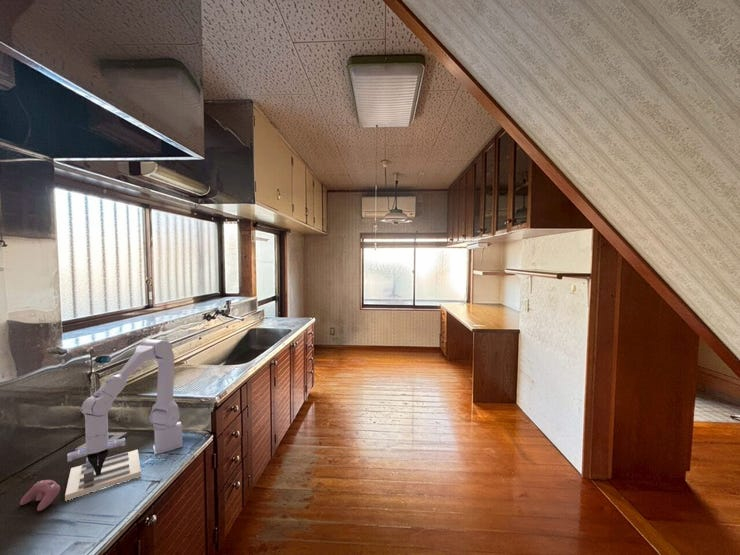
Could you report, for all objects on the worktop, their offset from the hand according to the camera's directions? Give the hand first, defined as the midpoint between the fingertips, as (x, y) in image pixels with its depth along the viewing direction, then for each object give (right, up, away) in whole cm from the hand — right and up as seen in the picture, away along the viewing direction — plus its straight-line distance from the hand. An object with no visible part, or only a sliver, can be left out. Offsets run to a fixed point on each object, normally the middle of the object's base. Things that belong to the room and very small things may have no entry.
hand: (98, 474), depth 108 cm
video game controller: (-11, -4, -8) cm, 14 cm away
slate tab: (-8, -1, +7) cm, 10 cm away
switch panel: (-2, -4, +5) cm, 6 cm away
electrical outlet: (-20, -4, +26) cm, 33 cm away
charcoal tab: (-2, -1, -1) cm, 3 cm away
